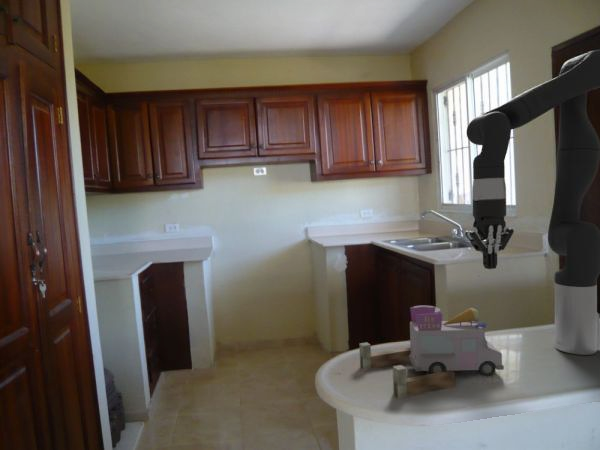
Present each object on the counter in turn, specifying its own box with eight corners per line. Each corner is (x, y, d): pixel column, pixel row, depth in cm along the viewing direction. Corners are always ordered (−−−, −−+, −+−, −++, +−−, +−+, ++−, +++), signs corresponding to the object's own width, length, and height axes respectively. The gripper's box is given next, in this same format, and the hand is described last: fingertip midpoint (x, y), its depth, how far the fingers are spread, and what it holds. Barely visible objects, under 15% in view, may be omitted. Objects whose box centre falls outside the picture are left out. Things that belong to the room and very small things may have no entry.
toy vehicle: (505, 379, 97) (504, 312, 97) (416, 380, 99) (414, 315, 98) (489, 363, 107) (488, 302, 106) (408, 365, 108) (407, 305, 107)
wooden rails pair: (410, 358, 112) (409, 335, 111) (455, 386, 95) (455, 359, 94) (360, 367, 107) (359, 343, 107) (398, 398, 90) (397, 369, 90)
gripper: (499, 196, 112) (500, 264, 113) (456, 198, 108) (457, 268, 109) (523, 196, 105) (523, 268, 106) (477, 198, 100) (478, 273, 101)
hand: (490, 268), depth 107 cm, fingers closed
